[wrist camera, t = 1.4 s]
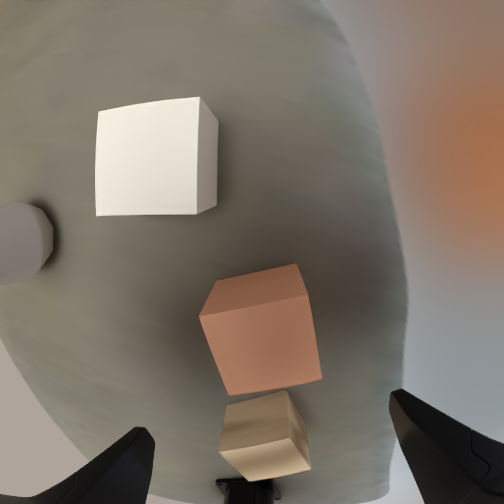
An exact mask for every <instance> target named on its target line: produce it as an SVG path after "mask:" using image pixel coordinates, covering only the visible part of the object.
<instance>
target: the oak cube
mask: <svg viewBox="0 0 504 504" xmlns="http://www.w3.org/2000/svg"><path fill="white" fill-rule="evenodd" d="M219 453H220V454H221V455H222V456H223V457H224V458H225V459H226V460H227V461H228V462H229V463H230V464H231V465H232V466H233V467H234V468H235V469H236V470H237V471H238V472H239V473H240V474H242V475H243V476H244V477H245V478H246V479H247V480H248V481H256V480H262V479H268V478H274V477H279V476H284V475H289V474H294V473H298V472H302V471H306V470H310V469H311V463H310V455H309V448H308V440H307V433H306V425H305V423H304V421H303V420H302V418H301V416H300V414H299V412H298V411H297V409H296V407H295V405H294V403H293V401H292V400H291V398H290V396H289V394H288V392H287V390H286V389H285V390H281V391H278V392H275V393H272V394H268V395H265V396H261V397H258V398H254V399H250V400H246V401H242V402H238V403H234V404H230V405H226V411H225V417H224V423H223V429H222V435H221V441H220V446H219Z"/></svg>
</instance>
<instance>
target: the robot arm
mask: <svg viewBox="0 0 504 504" xmlns="http://www.w3.org/2000/svg"><path fill="white" fill-rule="evenodd" d="M389 412H390V415H391V418H392V421H393V424H394V428H395V431H396V434H397V438H398V441H399V444H400V447H401V449H402V452H403V454H404V456H405V458H406V460H407V463H408V465H409V467H410V469H411V472H412V474H413V476H414V479H415V481H416V483H417V486H418V488H419V491H420V493H421V495H422V498H423V500H424V503H425V504H504V444H503V443H501V442H498V441H496V440H493V439H491V438H488V437H487V436H485V435H483V434H481V433H479V432H477V431H475V430H471V428H469V427H468V426H466V425H464V424H462V423H460V422H459V421H457V420H455V419H453V418H451V417H450V416H448V415H446V414H444V413H443V412H441V411H439V410H438V409H436V408H434V407H432V406H431V405H429V404H427V403H425V402H424V401H422V400H420V399H419V398H417V397H415V396H414V395H412V394H410V393H409V392H407V391H405V390H404V389H398V390H395V391H392V392H391V393H390V401H389ZM154 450H155V441H154V439H153V437H152V436H151V435H150V433H149V432H148V430H147V429H146V428H145V427H134V428H133V429H132V430H130V431H129V432H128V433H127V434H125V435H124V436H123V437H122V438H120V439H119V440H118V441H116V442H115V443H114V444H113V445H111V446H110V447H109V448H107V449H106V450H105V451H104V452H102V453H101V454H100V455H98V456H97V457H96V458H94V459H93V460H92V461H90V462H89V463H88V464H86V465H85V466H84V467H82V468H81V469H79V470H78V471H77V472H75V473H74V474H72V475H71V476H69V477H68V478H66V479H65V480H63V481H62V482H60V483H58V484H57V485H55V486H53V487H51V488H49V489H48V490H46V491H44V492H42V493H40V494H38V495H35V496H33V497H17V496H9V495H2V494H0V504H145V503H146V498H147V494H148V489H149V485H150V481H151V476H152V468H153V459H154ZM215 484H216V485H217V487H218V488H219V489H220V490H221V491H222V493H223V494H224V495H225V496H224V504H274V500H280V499H281V495H280V493H279V491H278V489H277V487H276V485H275V483H274V481H273V479H272V478H268V479H262V480H256V481H248V480H247V479H241V480H216V483H215Z"/></svg>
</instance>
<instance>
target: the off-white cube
mask: <svg viewBox="0 0 504 504" xmlns="http://www.w3.org/2000/svg"><path fill="white" fill-rule="evenodd" d="M218 122H219V121H218V120H217V119H216V117H215V116H214V115H213V114H212V112H211V111H210V110H209V108H208V107H207V106H206V104H205V103H204V102H203V101H202V99H201V98H200V97H193V98H182V99H172V100H163V101H156V102H149V103H142V104H136V105H130V106H124V107H119V108H114V109H109V110H105V111H100V112H99V114H98V126H97V140H96V167H95V191H96V216H106V215H158V214H199V213H201V212H203V211H205V210H208V209H210V208H212V207H214V206H216V205H217V157H218Z"/></svg>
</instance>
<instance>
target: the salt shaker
mask: <svg viewBox="0 0 504 504" xmlns="http://www.w3.org/2000/svg"><path fill="white" fill-rule="evenodd" d="M53 231H54V227H53V226H52V224H51V223H50V221H49V219H48V218H47V216H46V214H45V213H44V211H43V210H42V209H39V208H37V207H35V206H33V205H30V204H27V203H23V202H19V201H14V202H12V203H10V204H8V205H5V206H3V207H1V208H0V285H4V284H8V283H13V282H18V281H22V280H26V279H29V278H32V277H34V276H35V275H36V274H37V273H38V272H39V270H40V269H41V267H42V266H43V264H44V263H45V261H46V260H47V258H48V257H49V256H50V254H51V253H52V251H53Z"/></svg>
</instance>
